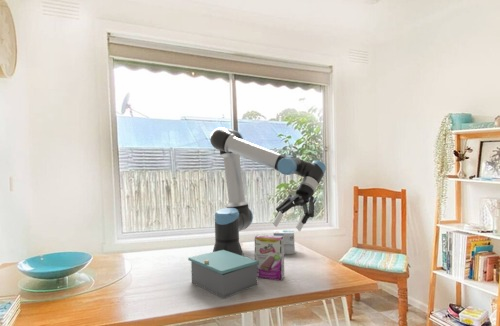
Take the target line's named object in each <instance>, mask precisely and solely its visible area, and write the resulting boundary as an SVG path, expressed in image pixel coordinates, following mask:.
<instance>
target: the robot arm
mask: <svg viewBox="0 0 500 326" xmlns="http://www.w3.org/2000/svg"><path fill="white" fill-rule="evenodd" d="M209 140H210V141H209V142H210V144H211V146H212V147H213V148H214V149H215V150H218V151H219V154H220V155H219V156H220V157H222V159H223V164H224V174H225V180H226V181H225V182H226V189H227V196H228V197H227V198H228V204H226V207H225V208H220V209H218V210H217V211H215V212H214V236H215V237H214V238H215V239H214V246H213V250H212V252H216V251H220V250H225V251H229V252H232V253H235V254H238V255H241V256H244V251H243V249H242V246H241V242H240V232H241V231H243V230H246V229H247V228H248V227H250V225H251V224H252V222H253V219H254V216H253V215H254V213H253V211H252V209H250V208H249V202H247V201H246V199H245V191H244V181H243V177H242V176H243V174H242V173H243V172H242V167H241V159H240V157H243V158H246V159H248V160H250V161H253V162H255V163H258V164H261V165H263V166H265V167H267V168H271V169H273V170H276V171H278V172H279V173H280V174H283V175H284V176H290V175H297V176H300V177H303V178H302V180H301V182H300V183H299V185H298V187H297V188H296V190H295V194H294V195H292V194H288V196H287V197H286V198H285V199H284V200H283V201H282V202H281V203H280V204H279V205H278V206H277V207H276V208H275V211H276V212H277V213H276V214H275V217H274V220H273V222H272V224H273V225H274V227H276V228H277V227H278V226H279V224H280V222H281V221H282V219H283V216H284V214H285V213H286V212H287V211H290V209H292V208H294V207H296V206H299V207H302V209H303V214H302V215H301V216H300V218H299V221H298V222H297V224H296V226H295V228H296V229H297V231H298V232H301V230H302V229H303V227H304V225H305V224H307V222H308V220H309V219H310V218H314V217H315V203H316V199H315V197H314V193H315V192H316V190H317V188H318V186H319V185H320V182H321V180H322V179H323V178H324V174H325V172H326V170H327V166H326V164H325V163H324V162H323V161H321V160H316V159H315V160H313V161H312V162H309V161H305V160H303V159H301V158H298V157H296V156H292V155H290V154H289V155H284V154H280V153H279V152H276V151H273V150H272V149H271V150H270V149H268V148H265V147H262V146H259V145H258V144H255V143H252V142H249V141H247V140H244V137H243V135H242V133H240V132H239V131H237V130H235V129H233V128H226V127H216V128H215V129H214V130H213V131H212V132H211V133H210V137H209ZM308 203H309V204H308Z"/></svg>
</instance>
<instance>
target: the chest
mask: <svg viewBox="0 0 500 326" xmlns="http://www.w3.org/2000/svg"><path fill="white" fill-rule="evenodd" d="M190 264H191V265H190V266H191V283H192V284H194V285H196V286H198V287H200V288H202V289H204V290H206V291H208V292H209V293H212V294H213V295H216V296H218V297H219V298H222V299H227V298H228V297H231V296H234V295H236V294H238V293H241V292H243V291H246V290H248V289H251V288H253V287H256V286H258V278H257V264H255V265H251V266H248V267H244V268H241V269H238V270H234V271H231V272H227V273H224V274H220V273H218V272H215V271H213V270H211V269H208V268H206V267H203V266H201V265H199V264H196V263H194V262H191V261H190Z"/></svg>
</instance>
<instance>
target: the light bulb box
mask: <svg viewBox="0 0 500 326" xmlns="http://www.w3.org/2000/svg"><path fill="white" fill-rule="evenodd" d="M294 231H295V230H294V229H292V230H290V229H289V230H287V229H286V230H285V229H284V230H282V229H279V230H278V229H277V230H275V229H274V230H273V234H272V236H283V237H284V255H295V251H296V250H295V244H296V243H295V232H294Z"/></svg>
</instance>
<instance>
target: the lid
mask: <svg viewBox="0 0 500 326" xmlns="http://www.w3.org/2000/svg"><path fill="white" fill-rule="evenodd" d="M187 258H188V261H189V262H190V263H191V262H194V263H196V264H199V265H201V266H203V267H206V268H208V269H211V270H213V271H215V272H218V273H220V274H224V273H227V272H231V271H234V270H238V269H241V268H244V267H248V266H251V265H255V264H258V261H257V260H255V258H250V257H247V256H244V255H243V256H241V255H238V254H235V253H232V252H229V251H225V250H220V251H216V252H213V251H212V252H208V253H203V254H199V255H194V256H190V257H187Z"/></svg>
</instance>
